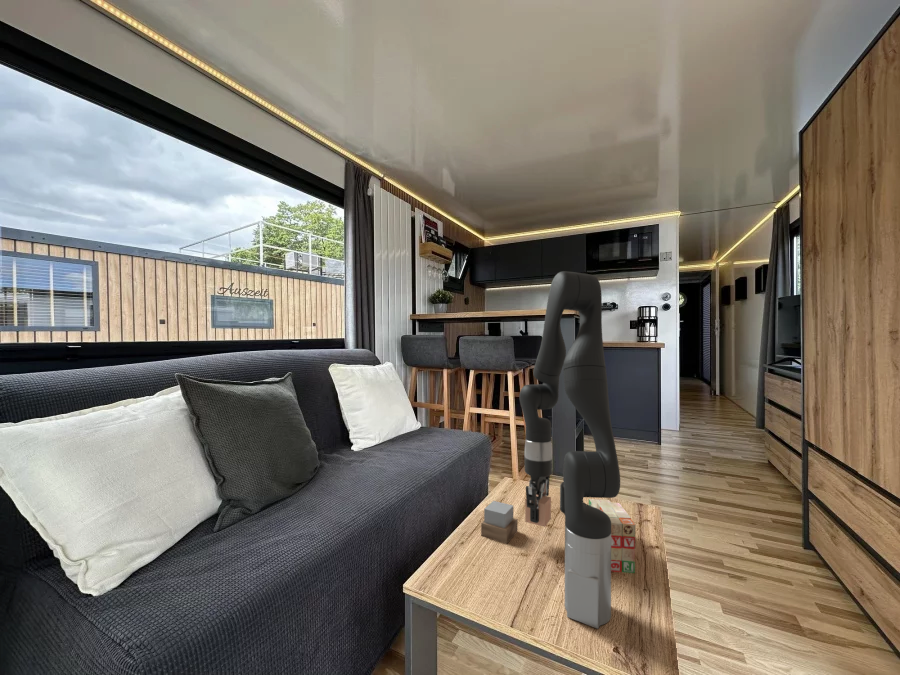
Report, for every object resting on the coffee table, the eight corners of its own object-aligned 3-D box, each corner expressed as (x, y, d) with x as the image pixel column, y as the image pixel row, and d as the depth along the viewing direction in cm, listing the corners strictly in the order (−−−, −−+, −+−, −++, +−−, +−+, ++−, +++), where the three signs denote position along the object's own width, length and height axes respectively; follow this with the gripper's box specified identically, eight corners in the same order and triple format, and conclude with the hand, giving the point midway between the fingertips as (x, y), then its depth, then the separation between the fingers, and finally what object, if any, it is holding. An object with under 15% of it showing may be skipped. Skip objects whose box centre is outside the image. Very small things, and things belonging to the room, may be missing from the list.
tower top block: (505, 528, 106) (505, 514, 106) (484, 522, 110) (484, 508, 110) (513, 519, 112) (513, 505, 112) (493, 513, 115) (493, 500, 115)
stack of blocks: (588, 529, 114) (588, 488, 114) (609, 530, 113) (610, 489, 113) (609, 572, 93) (609, 522, 93) (635, 574, 92) (635, 523, 92)
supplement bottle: (562, 505, 130) (562, 470, 130) (582, 509, 127) (583, 474, 127) (558, 513, 124) (558, 477, 124) (579, 518, 121) (580, 480, 121)
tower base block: (506, 544, 105) (506, 530, 105) (481, 536, 109) (481, 523, 109) (517, 532, 112) (517, 519, 112) (493, 525, 116) (493, 512, 116)
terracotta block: (544, 526, 100) (544, 504, 100) (525, 521, 103) (525, 499, 103) (550, 519, 105) (550, 497, 105) (531, 514, 108) (531, 493, 108)
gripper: (543, 465, 96) (543, 531, 96) (558, 452, 109) (558, 511, 108) (516, 460, 100) (515, 524, 100) (533, 448, 113) (533, 505, 112)
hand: (538, 517), depth 104 cm, fingers closed on terracotta block, 5 cm apart
